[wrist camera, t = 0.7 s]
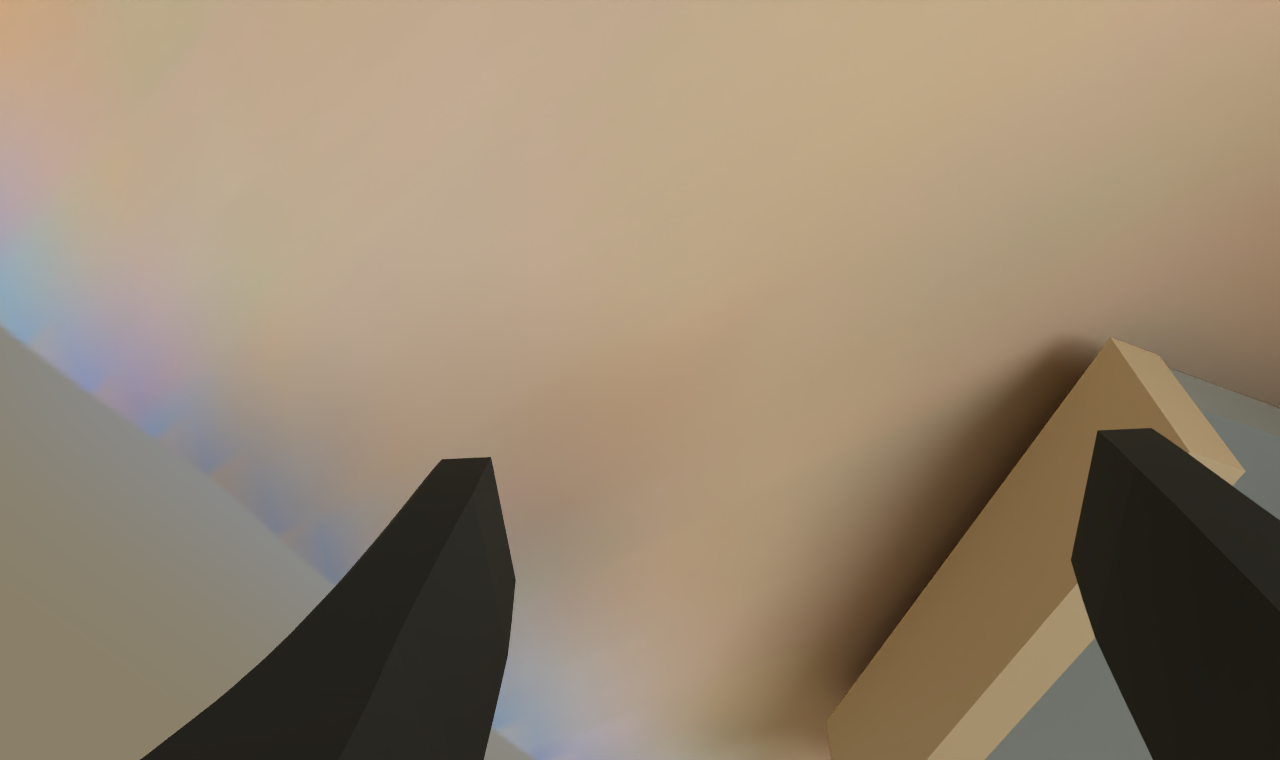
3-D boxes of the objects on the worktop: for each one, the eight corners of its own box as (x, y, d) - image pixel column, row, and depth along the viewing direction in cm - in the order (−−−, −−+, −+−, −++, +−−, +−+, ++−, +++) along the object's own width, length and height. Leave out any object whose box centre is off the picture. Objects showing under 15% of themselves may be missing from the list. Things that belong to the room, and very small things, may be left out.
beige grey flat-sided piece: (816, 707, 30) (838, 863, 26) (1108, 303, 22) (1204, 435, 18) (1199, 815, 32) (1274, 973, 28) (1584, 481, 24) (1763, 633, 20)
